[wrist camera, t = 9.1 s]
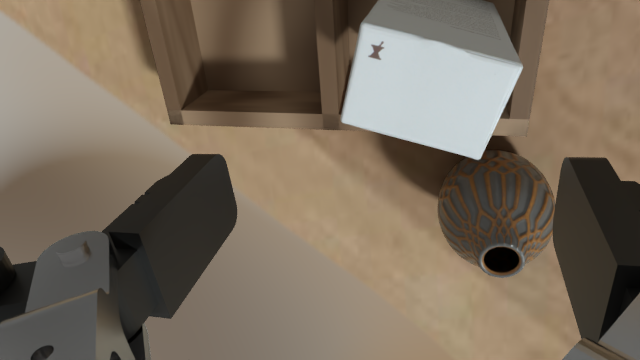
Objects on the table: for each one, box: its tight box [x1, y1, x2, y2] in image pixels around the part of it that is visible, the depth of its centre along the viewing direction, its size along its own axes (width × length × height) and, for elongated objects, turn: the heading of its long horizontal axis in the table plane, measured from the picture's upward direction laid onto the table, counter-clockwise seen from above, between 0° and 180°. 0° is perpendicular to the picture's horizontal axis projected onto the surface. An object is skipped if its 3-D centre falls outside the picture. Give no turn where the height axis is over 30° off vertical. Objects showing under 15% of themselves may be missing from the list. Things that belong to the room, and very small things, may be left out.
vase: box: [438, 150, 555, 278], centre depth 28 cm, size 7×7×9 cm
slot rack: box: [140, 0, 549, 136], centre depth 27 cm, size 22×10×5 cm, turn 95°
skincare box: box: [340, 0, 523, 160], centre depth 22 cm, size 6×4×12 cm
